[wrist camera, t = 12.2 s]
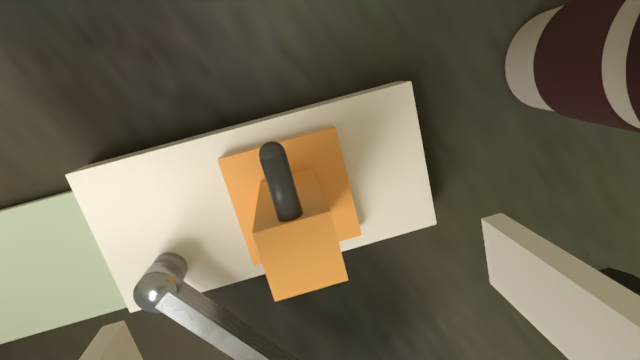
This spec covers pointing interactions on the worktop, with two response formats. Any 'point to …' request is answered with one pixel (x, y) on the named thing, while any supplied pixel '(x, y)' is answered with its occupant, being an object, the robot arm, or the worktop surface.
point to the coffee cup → (581, 62)
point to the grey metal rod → (201, 315)
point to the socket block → (214, 200)
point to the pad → (51, 268)
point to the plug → (294, 209)
